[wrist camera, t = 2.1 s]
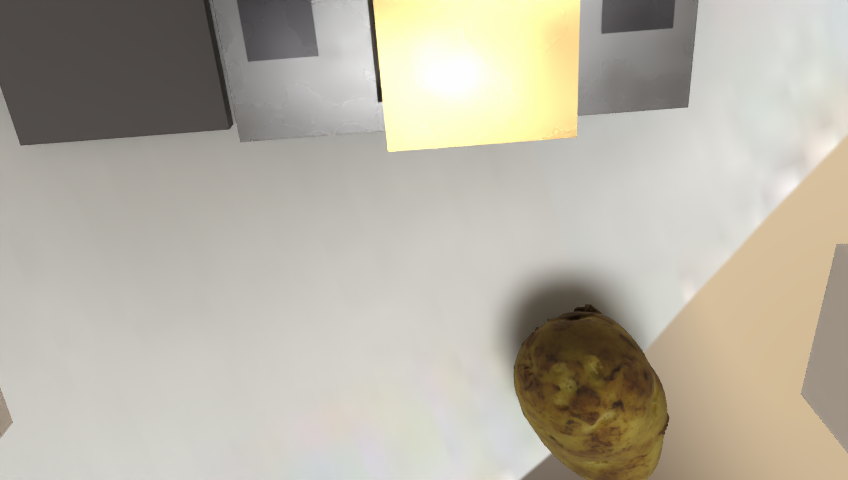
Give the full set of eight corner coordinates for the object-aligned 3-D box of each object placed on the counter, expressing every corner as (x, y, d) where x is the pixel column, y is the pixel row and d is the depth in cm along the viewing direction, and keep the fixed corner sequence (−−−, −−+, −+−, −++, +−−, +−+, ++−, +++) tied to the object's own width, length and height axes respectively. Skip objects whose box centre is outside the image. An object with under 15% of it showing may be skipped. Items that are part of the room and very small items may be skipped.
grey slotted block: (253, 123, 34) (239, 142, 31) (210, -107, 29) (190, -108, 27) (665, 90, 34) (689, 107, 31) (684, -145, 29) (714, -151, 26)
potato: (505, 455, 43) (525, 565, 36) (501, 275, 38) (524, 363, 31) (638, 446, 43) (685, 554, 36) (654, 264, 38) (713, 349, 31)
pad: (-47, -86, 29) (-59, -86, 29) (187, -105, 29) (181, -105, 29) (28, 140, 34) (20, 145, 33) (232, 124, 34) (229, 129, 33)
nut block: (380, -69, 30) (367, -53, 19) (518, -80, 30) (581, -70, 19) (393, 70, 33) (387, 151, 22) (519, 60, 33) (576, 137, 22)
